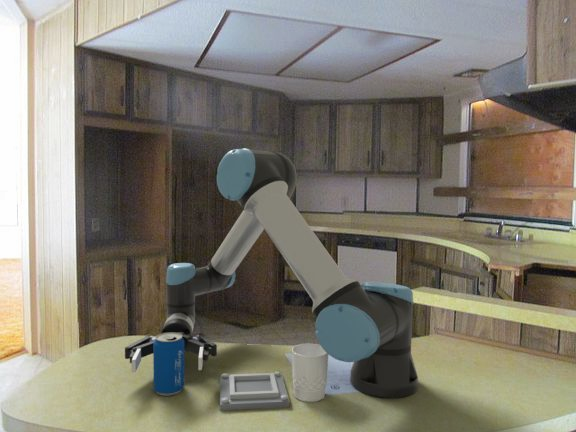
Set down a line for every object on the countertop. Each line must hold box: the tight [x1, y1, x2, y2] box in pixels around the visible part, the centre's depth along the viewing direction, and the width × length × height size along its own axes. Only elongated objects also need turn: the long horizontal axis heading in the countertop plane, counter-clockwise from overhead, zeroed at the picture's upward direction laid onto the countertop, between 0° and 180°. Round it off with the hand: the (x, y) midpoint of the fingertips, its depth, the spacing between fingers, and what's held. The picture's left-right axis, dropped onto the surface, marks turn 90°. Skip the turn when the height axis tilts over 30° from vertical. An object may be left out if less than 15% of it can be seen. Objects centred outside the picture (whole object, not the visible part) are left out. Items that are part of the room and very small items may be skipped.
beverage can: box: [152, 332, 185, 397], centre depth 102 cm, size 6×6×12 cm
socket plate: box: [219, 371, 290, 411], centre depth 102 cm, size 14×14×2 cm
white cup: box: [291, 342, 329, 403], centre depth 101 cm, size 8×8×10 cm
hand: (167, 364), depth 99 cm, fingers open, 13 cm apart
